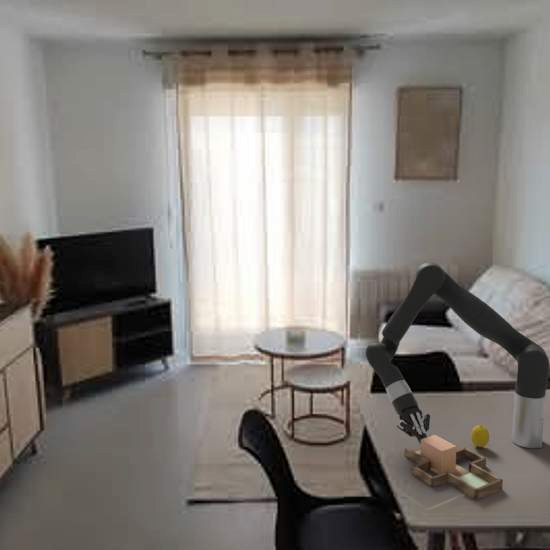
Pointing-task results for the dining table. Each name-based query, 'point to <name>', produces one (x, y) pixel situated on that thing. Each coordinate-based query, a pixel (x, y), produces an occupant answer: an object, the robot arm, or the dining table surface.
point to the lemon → (480, 436)
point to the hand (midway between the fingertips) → (426, 446)
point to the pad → (473, 480)
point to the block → (438, 453)
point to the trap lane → (457, 473)
